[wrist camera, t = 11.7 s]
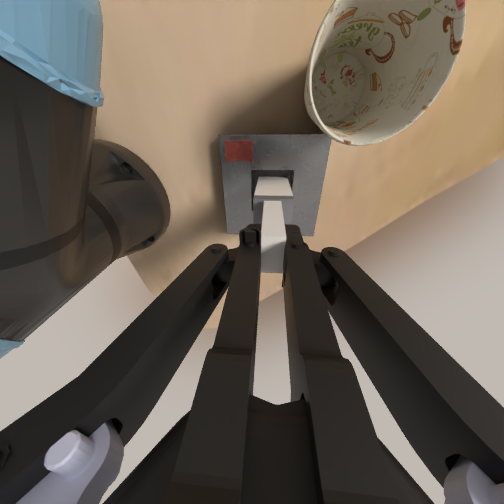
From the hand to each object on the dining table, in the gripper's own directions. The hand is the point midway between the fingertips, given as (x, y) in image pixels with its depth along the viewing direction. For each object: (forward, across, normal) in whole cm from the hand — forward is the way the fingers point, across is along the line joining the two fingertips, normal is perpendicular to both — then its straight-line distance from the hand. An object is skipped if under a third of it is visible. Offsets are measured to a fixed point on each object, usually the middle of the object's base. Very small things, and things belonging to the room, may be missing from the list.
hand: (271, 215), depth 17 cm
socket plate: (+10, 0, 0) cm, 10 cm away
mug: (+10, +7, +11) cm, 17 cm away
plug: (+9, 0, 0) cm, 9 cm away
